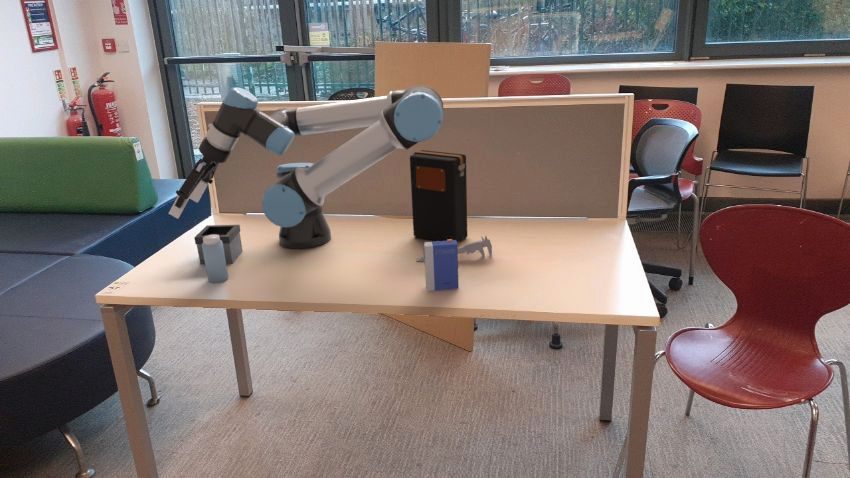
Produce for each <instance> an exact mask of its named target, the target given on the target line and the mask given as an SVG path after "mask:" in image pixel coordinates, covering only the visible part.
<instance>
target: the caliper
mask: <svg viewBox="0 0 850 478" xmlns="http://www.w3.org/2000/svg"><path fill="white" fill-rule="evenodd" d="M480 238H481V240H477V241H472V242H469V243H464V245H462V246H458V255H459V254H463V253H466V255H469V254H474V253H475V252H477V251H478V252H479V253H480V254H481V256H482V257H483V258H486V254H485V251H484V248H487V251H488V252H487V253H488V255H489V257H490V258H491V257H492V256H493V246H492V243H491V239H490V238H487V235H485V237H483V236H482V235H481V237H480ZM415 262H416V263H417V262H425V259H424V255H420V257H419V258H417V259H415Z"/></svg>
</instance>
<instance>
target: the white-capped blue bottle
mask: <svg viewBox="0 0 850 478" xmlns="http://www.w3.org/2000/svg"><path fill="white" fill-rule="evenodd" d="M202 249H203V255H204V260H205V264H204V265H205V270H206V271H205V272H206V275H207V281H208V283H210V284H219V283H223V282H225V281H227V280H228V279H229V273H228V267H227V264H226V260H225V254H224V249H223V243H222V241H221V240H220V237H219V235H216V234H213V235H207V236H205V237H203V243H202Z"/></svg>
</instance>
